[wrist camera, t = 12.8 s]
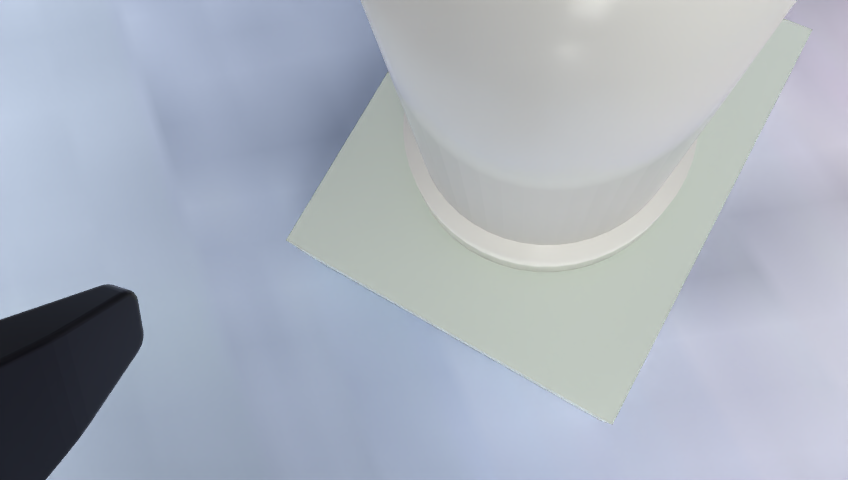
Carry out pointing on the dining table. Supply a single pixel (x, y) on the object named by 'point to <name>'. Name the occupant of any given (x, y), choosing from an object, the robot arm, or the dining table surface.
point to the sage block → (526, 290)
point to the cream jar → (560, 112)
